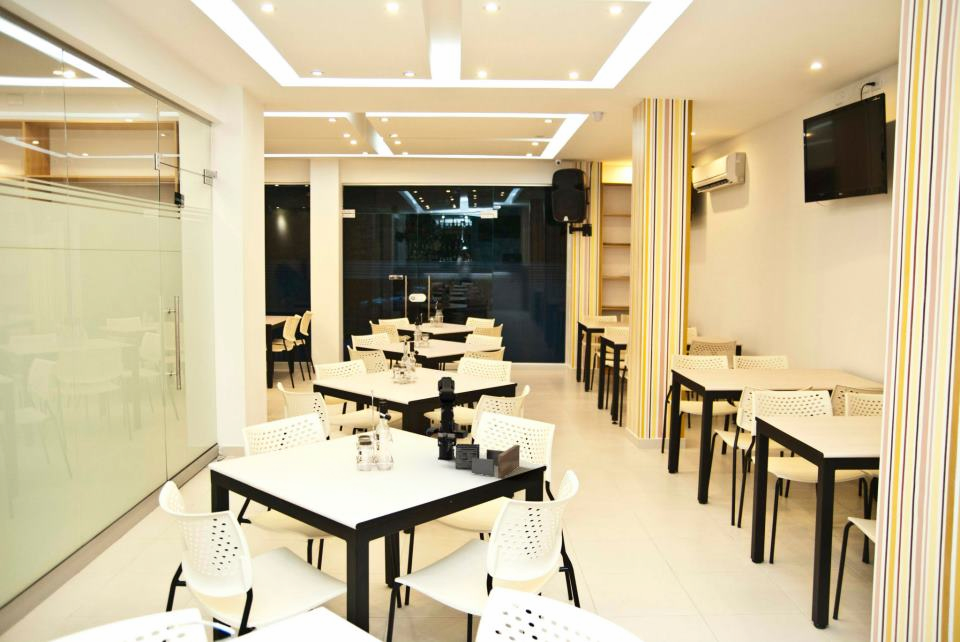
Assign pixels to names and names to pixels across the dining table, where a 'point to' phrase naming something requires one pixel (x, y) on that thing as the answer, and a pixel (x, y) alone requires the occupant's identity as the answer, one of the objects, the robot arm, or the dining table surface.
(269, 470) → the dining table surface
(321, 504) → the dining table surface
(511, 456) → the shelf panel
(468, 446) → the small box
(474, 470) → the bookend
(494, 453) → the bookend
